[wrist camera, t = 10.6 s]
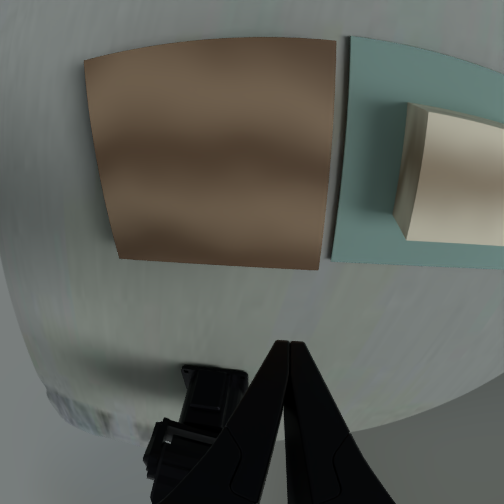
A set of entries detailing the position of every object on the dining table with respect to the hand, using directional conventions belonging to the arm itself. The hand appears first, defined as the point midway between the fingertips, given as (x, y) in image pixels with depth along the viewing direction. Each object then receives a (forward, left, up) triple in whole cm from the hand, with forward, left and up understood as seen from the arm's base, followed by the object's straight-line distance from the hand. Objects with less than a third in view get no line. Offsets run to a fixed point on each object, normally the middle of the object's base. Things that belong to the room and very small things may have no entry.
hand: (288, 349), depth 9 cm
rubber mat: (+2, -11, -12) cm, 16 cm away
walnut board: (+2, +5, -12) cm, 13 cm away
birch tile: (+3, -10, -11) cm, 15 cm away
